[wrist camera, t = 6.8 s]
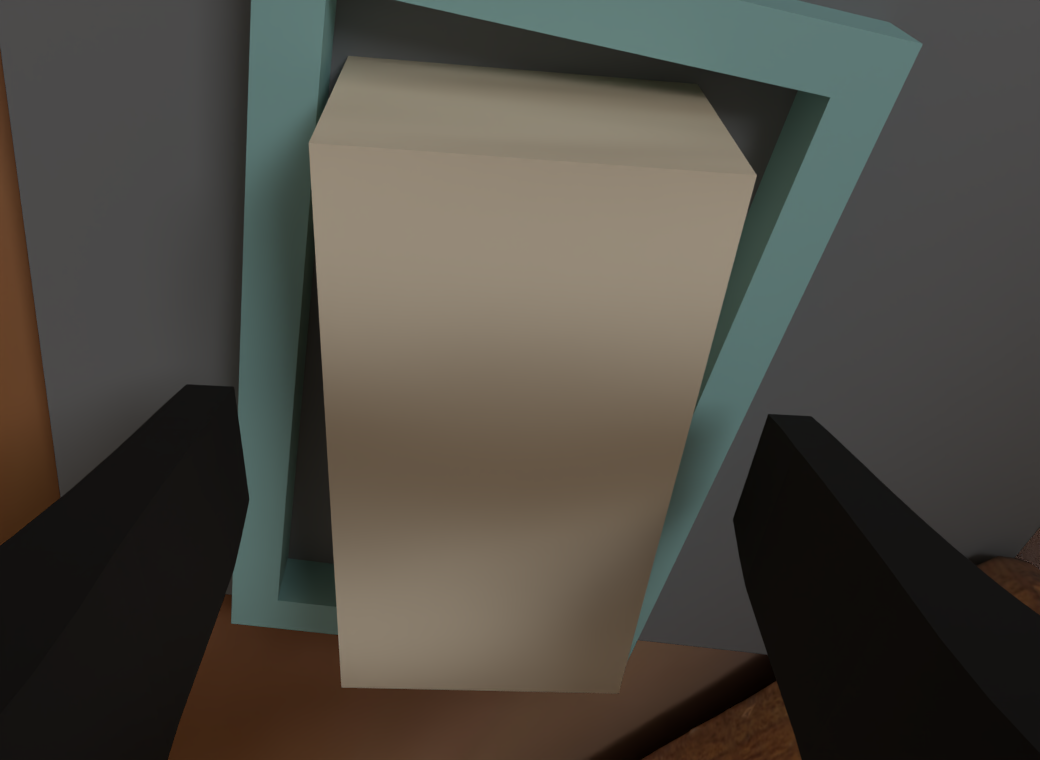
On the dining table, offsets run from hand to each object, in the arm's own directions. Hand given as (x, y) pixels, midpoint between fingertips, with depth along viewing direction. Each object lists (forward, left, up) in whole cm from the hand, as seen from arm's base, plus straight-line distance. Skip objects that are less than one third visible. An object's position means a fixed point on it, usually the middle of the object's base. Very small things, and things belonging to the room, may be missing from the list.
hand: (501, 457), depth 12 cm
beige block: (0, 0, -2) cm, 2 cm away
